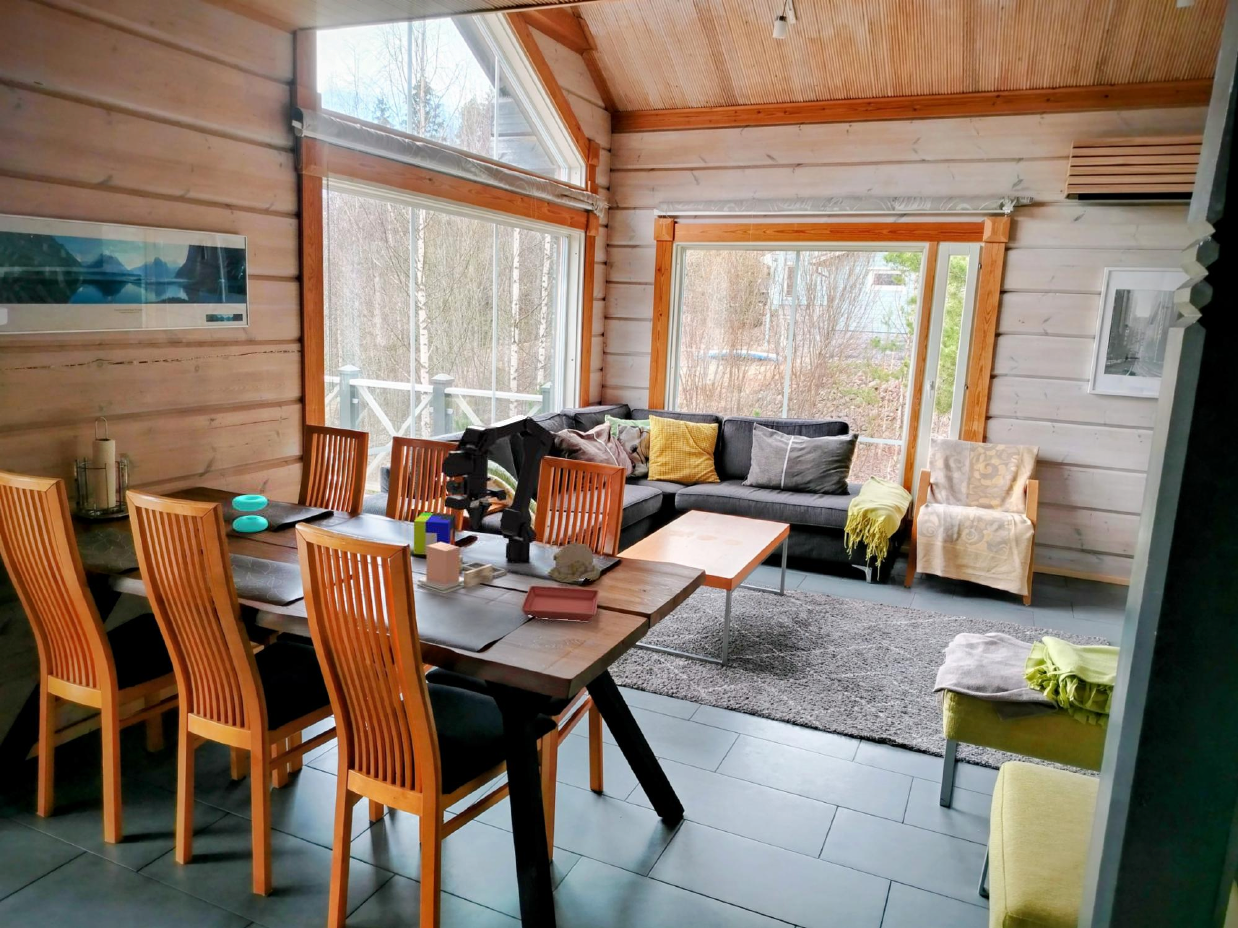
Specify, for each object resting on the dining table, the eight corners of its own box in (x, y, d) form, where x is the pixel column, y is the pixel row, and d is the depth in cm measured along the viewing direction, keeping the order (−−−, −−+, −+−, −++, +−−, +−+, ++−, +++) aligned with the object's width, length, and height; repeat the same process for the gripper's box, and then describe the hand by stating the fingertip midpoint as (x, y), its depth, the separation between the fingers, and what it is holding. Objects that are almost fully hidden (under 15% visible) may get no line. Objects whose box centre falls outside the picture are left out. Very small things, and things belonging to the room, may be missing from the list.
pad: (436, 578, 235) (436, 576, 235) (463, 586, 230) (463, 585, 230) (417, 584, 230) (417, 583, 230) (444, 593, 224) (444, 591, 224)
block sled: (442, 574, 237) (443, 539, 235) (467, 581, 232) (467, 546, 230) (417, 582, 229) (418, 546, 227) (442, 590, 224) (443, 553, 222)
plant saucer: (529, 596, 227) (530, 584, 226) (598, 601, 227) (599, 588, 226) (519, 621, 209) (520, 608, 209) (594, 626, 209) (595, 613, 208)
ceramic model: (554, 583, 237) (555, 548, 235) (543, 571, 247) (545, 537, 246) (603, 581, 242) (605, 546, 240) (591, 568, 252) (593, 535, 250)
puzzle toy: (447, 555, 256) (448, 523, 254) (413, 553, 256) (414, 520, 254) (454, 546, 266) (455, 514, 264) (422, 544, 266) (422, 512, 264)
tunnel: (459, 569, 244) (460, 555, 243) (492, 578, 238) (492, 564, 237) (433, 577, 236) (433, 563, 235) (466, 587, 229) (466, 573, 229)
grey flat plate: (475, 564, 249) (475, 560, 249) (507, 573, 243) (507, 570, 243) (460, 568, 244) (460, 565, 244) (492, 578, 238) (492, 575, 238)
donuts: (254, 492, 276) (274, 497, 270) (254, 522, 278) (274, 528, 272) (225, 497, 267) (245, 503, 262) (226, 528, 269) (245, 535, 264)
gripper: (478, 463, 247) (477, 517, 250) (430, 472, 232) (429, 529, 235) (508, 470, 241) (506, 524, 244) (460, 479, 226) (459, 537, 229)
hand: (475, 528), depth 238 cm, fingers closed
